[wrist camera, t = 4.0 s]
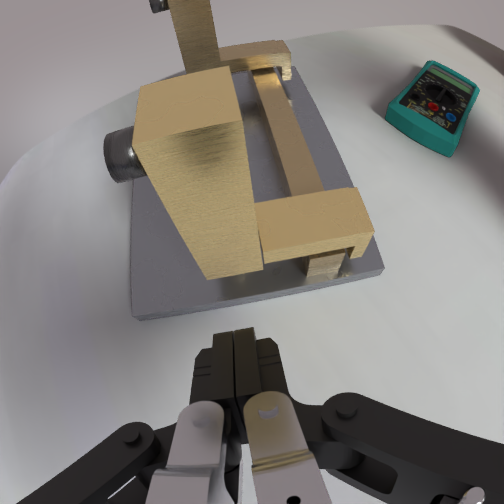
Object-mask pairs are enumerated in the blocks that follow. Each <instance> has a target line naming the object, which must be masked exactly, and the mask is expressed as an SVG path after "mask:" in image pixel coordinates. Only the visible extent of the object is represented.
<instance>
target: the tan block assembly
mask: <svg viewBox="0 0 504 504" xmlns="http://www.w3.org/2000/svg"><path fill="white" fill-rule="evenodd" d="M149 2H150V6H151V9H152V12H153V13H158V12H161V11H165V10H169V9H170V12H171V16H172V20H173V24H174V28H175V32H176V35H177V39H178V43H179V47H180V51H181V54H182V58H183V62H184V65H185V69H186V73H187V74H190V73H195V72H199V71H204V70H209V69H214V68H219V67H225V66H229V69H230V72H231V73H234V72H240V71H246V70H247V73H248V77H249V80H250V83H251V86H252V89H253V92H254V95H255V98H256V101H257V105H258V108H259V111H260V114H261V117H262V120H263V124H264V127H265V130H266V133H267V137H268V140H269V143H270V146H271V150H272V153H273V156H274V160H275V163H276V167H277V170H278V173H279V177H280V180H281V184H282V187H283V191H284V194H285V198H286V197H292V196H298V195H304V194H310V193H316V192H322V191H324V188H323V185H322V182H321V180H320V177H319V174H318V172H317V169H316V167H315V164H314V161H313V159H312V156H311V154H310V151H309V149H308V146H307V144H306V141H305V139H304V136H303V134H302V132H301V129H300V127H299V124H298V122H297V120H296V117H295V115H294V113H293V110H292V108H291V106H290V103H289V101H288V99H287V97H286V94H285V92H284V90H283V88H282V85H281V83H280V81H279V79H278V77H277V75H276V72H275V70H274V68H273V67H275V66H276V68H277V70H278V72H279V74H280V76H281V78H282V81H284V80H291V52H290V51H289V49H288V48H287V46H286V44H285V43H284V41H283V40H279V41H275V40H271V41H262V42H254V43H247V44H240V45H234V46H228V47H222V48H218V44H217V38H216V34H215V27H214V22H213V17H212V11H211V6H210V0H149ZM345 253H346V252H345V249H344V248H342V249H337V250H332V251H327V252H322V253H317V254H312V255H307V256H302V261H303V265H304V268H305V272H306V276H307V277H309V276H314V275H319V274H324V273H329V272H333V271H338V270H339V268H340V265H341V263H342V261H343V258H344V256H345Z"/></svg>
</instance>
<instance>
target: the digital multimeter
mask: <svg viewBox="0 0 504 504" xmlns="http://www.w3.org/2000/svg"><path fill="white" fill-rule="evenodd" d="M426 84H427V85H426ZM442 86H443V87H442ZM444 87H445V88H444ZM450 91H451V92H450ZM479 92H480V89H479V88H478V87H477V85H476V84H475V83H473V82H472V81H470V80H469V79H467V78H466V77H464V76H462V75H461V74H459V73H457V72H455V71H454V70H452V69H450V68H448V67H446V66H444V65H442V64H440V63H438V62H436V61H427V62H426V64H425V65H424V67H423V68H422V69H421V71H420V72H419V74H418V75H417V76H416V77H415V78H414V79H413V81H412V82H411V83H410V84H409V85H408V86H407V87H406V88H405V89H404V90H403V91H402V92H401V93H400V94H399V95H398V96H397V97H396V98H394V99H393V100H392V101H391V102H390V103H389V105H388V109H387V113H386V117H385V119H386V120H387V121H388V122H389V123H390V124H392V125H393V126H394V127H396V128H397V129H398V130H400V131H401V132H403V133H404V134H406V135H407V136H408V137H410V138H411V139H413V140H415V141H417V142H418V143H420V144H422V145H424V146H426V147H428V148H430V149H432V150H434V151H436V152H438V153H440V154H442V155H444V156H447V157H451V156H452V155H453V153H454V151H455V149H456V147H457V145H458V143H459V140H460V137H461V134H462V131H463V128H464V125H465V123H466V120H467V117H468V115H469V112H470V110H471V108H472V107H473V105H474V103H475V101H476V99H477V96H478V94H479ZM455 96H456V97H455ZM457 100H458V101H457ZM455 131H456V132H455Z"/></svg>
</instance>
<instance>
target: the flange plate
mask: <svg viewBox="0 0 504 504" xmlns="http://www.w3.org/2000/svg"><path fill="white" fill-rule="evenodd" d="M274 70H275V72H276V75H277V77H278V79H279V81H280V83H281V85H282V88H283V90H284V92H285V94H286V97H287V99H288V101H289V103H290V106H291V108H292V110H293V113H294V115H295V117H296V120H297V122H298V124H299V127H300V129H301V132H302V134H303V136H304V139H305V141H306V144H307V146H308V149H309V151H310V154H311V156H312V159H313V161H314V164H315V167H316V169H317V172H318V174H319V177H320V180H321V182H322V185H323V188H324V191H328V190H334V189H340V188H347V187H349V188H354V186H353V183H352V181H351V179H350V176H349V174H348V172H347V170H346V167H345V165H344V163H343V161H342V158H341V156H340V154H339V152H338V150H337V148H336V146H335V143H334V141H333V139H332V137H331V135H330V133H329V131H328V129H327V127H326V125H325V123H324V121H323V119H322V117H321V115H320V113H319V111H318V109H317V107H316V105H315V103H314V101H313V99H312V97H311V96H310V94H309V92H308V90H307V88H306V86H305V84H304V83H303V81H302V79H301V77H300V75H299V74H298V72H297V70H296V68H295V67H294V66H291V80H284V81H282V78H281V76H280V74H279V72H278V70H277V68H274ZM231 76H232V80H233V84H234V88H235V92H236V96H237V100H238V104H239V108H240V112H241V117H242V121H243V128H244V135H245V142H246V149H247V156H248V163H249V170H250V177H251V184H252V191H253V198H254V203H259V202H264V201H269V200H275V199H281V198H285V194H284V191H283V187H282V184H281V180H280V177H279V173H278V170H277V167H276V163H275V160H274V156H273V153H272V150H271V146H270V143H269V140H268V137H267V133H266V130H265V127H264V124H263V120H262V117H261V114H260V111H259V108H258V105H257V101H256V98H255V95H254V92H253V89H252V86H251V83H250V80H249V77H248V73H247V72H244V73H238V74H232V75H231ZM259 241H260V240H259ZM260 248H261V244H260ZM344 249H345V252H346V253H345V256H344V258H343V261H342V263H341V265H340V268H339V270H338V271H333V272H329V273H324V274H319V275H314V276H309V277H307V276H306V272H305V268H304V265H303V261H302V257H297V258H292V259H287V260H282V261H276V262H271V263H266V264H264V259H263V254H262V249H261V256H262V263H263V270H259V271H254V272H249V273H244V274H238V275H233V276H228V277H222V278H217V279H212V280H207V279H206V277H205V276H204V274H203V272H202V271H201V269H200V267H199V266H198V264H197V262H196V261H195V259H194V257H193V255H192V254H191V252H190V250H189V249H188V247H187V245H186V243H185V242H184V240H183V238H182V236H181V235H180V233H179V231H178V229H177V228H176V226H175V224H174V222H173V221H172V219H171V217H170V215H169V213H168V212H167V210H166V208H165V206H164V204H163V203H162V201H161V199H160V197H159V195H158V194H157V192H156V190H155V188H154V186H153V184H152V183H151V181H150V179H149V177H148V176H144V177H140V178H137V179H134V183H133V200H132V224H131V299H132V316H133V317H134V318H136V319H138V320H139V321H142V320H149V319H156V318H162V317H169V316H175V315H181V314H187V313H194V312H200V311H205V310H211V309H217V308H223V307H228V306H234V305H239V304H245V303H250V302H256V301H261V300H266V299H271V298H276V297H281V296H286V295H291V294H296V293H301V292H306V291H311V290H315V289H320V288H325V287H329V286H334V285H339V284H343V283H348V282H352V281H356V280H361V279H365V278H369V277H374V276H378V275H380V274H381V273H382V271H383V270H384V268H385V267H384V264H383V261H382V258H381V255H380V253H379V250H378V247H377V244H376V242H375V239H374V236H372V238H371V240H370V242H369V244H368V246H367V248H366V249H365V251H364V253H363V255H362V257H357V258H353V259H349V257H348V254H347V250H346V248H344Z"/></svg>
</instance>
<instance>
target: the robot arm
mask: <svg viewBox="0 0 504 504" xmlns="http://www.w3.org/2000/svg"><path fill="white" fill-rule="evenodd" d="M248 443H249V446H250V452H251V457H252V463H253V465H252V475H253V480H254V485H255V491H256V496H257V501H258V504H332V502H331V499H330V497H329V494H328V491H327V489H326V486H325V483H324V481H323V478H322V475H321V473H320V470H319V469H326V471H327V472H328V473H329V474H331V475H333V476H334V477H336V478H338V479H340V480H342V481H344V482H345V483H347V484H349V485H351V486H353V487H355V488H357V489H359V490H361V491H363V492H365V493H367V494H369V495H371V496H373V497H375V498H377V499H379V500H381V501H383V502H385V503H388V504H504V444H501V443H497V442H494V441H490V440H487V439H483V438H480V437H477V436H473V435H470V434H467V433H464V432H461V431H458V430H454V429H451V428H448V427H445V426H442V425H440V424H437V423H434V422H431V421H428V420H425V419H422V418H420V417H417V416H414V415H411V414H409V413H406V412H403V411H401V410H398V409H395V408H393V407H390V406H388V405H385V404H383V403H380V402H378V401H375V400H373V399H370V398H368V397H365V396H363V395H360V394H357V393H351V392H347V393H340V394H337V395H335V396H332V397H331V398H329V399H328V400H327V401H326V402H325V403H324V405H306V404H302V403H299V402H297V401H296V400H294V399H293V398H292V397H291V396H290V394H289V392H288V388H287V383H286V379H285V375H284V371H283V366H282V362H281V358H280V353H279V349H278V345H277V344H276V343H275V342H274V341H273V340H272V339H271V338H265V339H259V340H256V336H255V331H254V327H251V328H246V329H240V330H235V331H234V332H233V331H229V332H223V333H217V334H214V335H213V345H212V348H206V349H202V350H201V351H200V353H199V354H198V355H197V357H196V358H195V365H194V372H193V380H192V387H191V395H190V403H189V406H187V407H186V408H184V409H183V410H182V412H181V413H180V415H179V417H178V421H177V422H176V423H174V424H172V425H170V426H167V427H164V428H161V429H157V430H154V431H153V429H152V428H151V427H150V426H149V425H147V424H146V423H142V422H132V423H128V424H125V425H123V426H122V427H120V428H119V429H118V430H116V431H115V432H114V433H112V434H111V435H110V436H109V437H107V438H106V439H105V440H103V441H102V442H101V443H100V444H98V445H97V446H96V447H94V448H93V449H92V450H90V451H89V452H88V453H86V454H85V455H84V456H82V457H81V458H80V459H78V460H77V461H76V462H74V463H73V464H72V465H70V466H69V467H68V468H66V469H65V470H63V471H62V472H61V473H59V474H58V475H57V476H55V477H54V478H52V479H51V480H50V481H48V482H47V483H45V484H44V485H43V486H41V487H40V488H38V489H37V490H35V491H34V492H32V493H31V494H30V495H28V496H27V497H25V498H24V499H22V500H21V501H19V502H18V503H16V504H242V483H243V460H242V450H241V444H248ZM134 476H136V477H135V478H134V479H133V480H132V481H131V482H129V483H128V484H127V485H126V486H125V487H123V488H122V489H121V490H120V491H119V492H117V493H116V494H115V495H114V496H112V497H111V498H109V499H108V497H109V496H111V495H112V494H113V493H114V492H116V491H117V490H118V489H119V488H120V487H122V486H123V485H124V484H125V483H127V482H128V481H129V480H130V479H131V478H133V477H134Z"/></svg>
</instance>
